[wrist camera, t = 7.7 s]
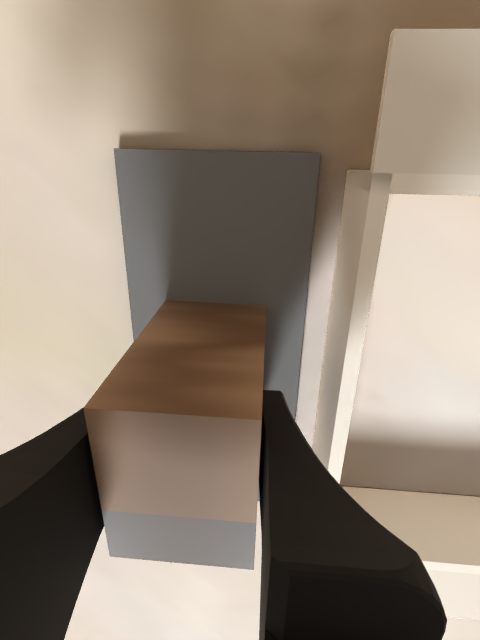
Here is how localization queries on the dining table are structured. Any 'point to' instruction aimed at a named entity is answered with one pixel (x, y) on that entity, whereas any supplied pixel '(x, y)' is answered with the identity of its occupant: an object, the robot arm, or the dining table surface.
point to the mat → (222, 239)
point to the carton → (360, 268)
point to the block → (183, 437)
